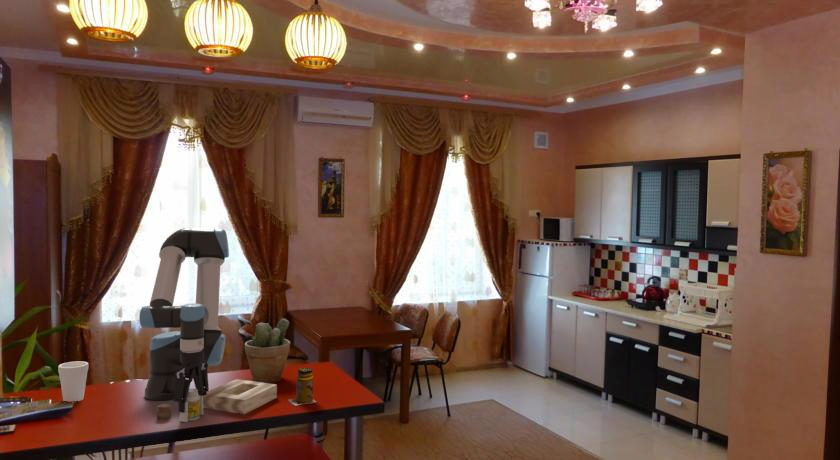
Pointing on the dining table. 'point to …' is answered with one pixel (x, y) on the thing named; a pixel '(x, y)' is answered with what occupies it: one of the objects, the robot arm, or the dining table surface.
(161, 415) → the walnut dowel short
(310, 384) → the condiment
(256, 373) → the potted plant
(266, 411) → the dining table surface
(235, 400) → the board
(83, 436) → the dining table surface
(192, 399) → the supplement bottle
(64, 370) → the foam cup
